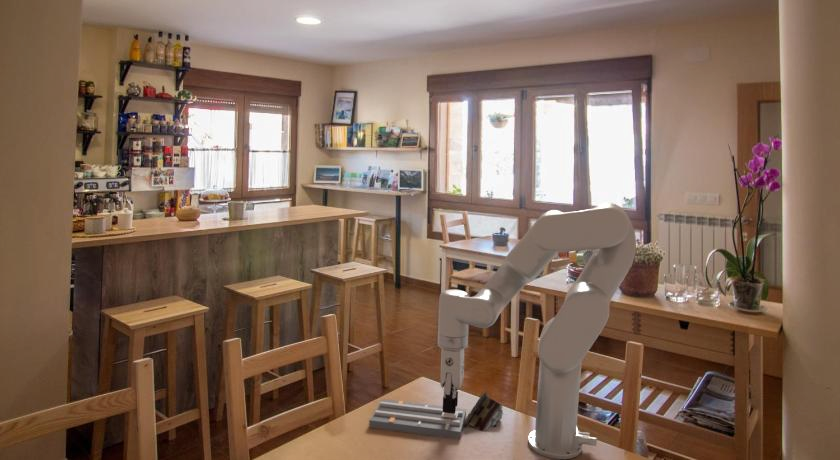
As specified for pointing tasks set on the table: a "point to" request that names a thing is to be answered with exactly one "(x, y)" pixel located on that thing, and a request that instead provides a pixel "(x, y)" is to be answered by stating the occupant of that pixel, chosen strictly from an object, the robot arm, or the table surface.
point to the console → (416, 419)
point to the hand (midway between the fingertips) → (450, 408)
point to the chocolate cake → (484, 413)
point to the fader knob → (450, 415)
